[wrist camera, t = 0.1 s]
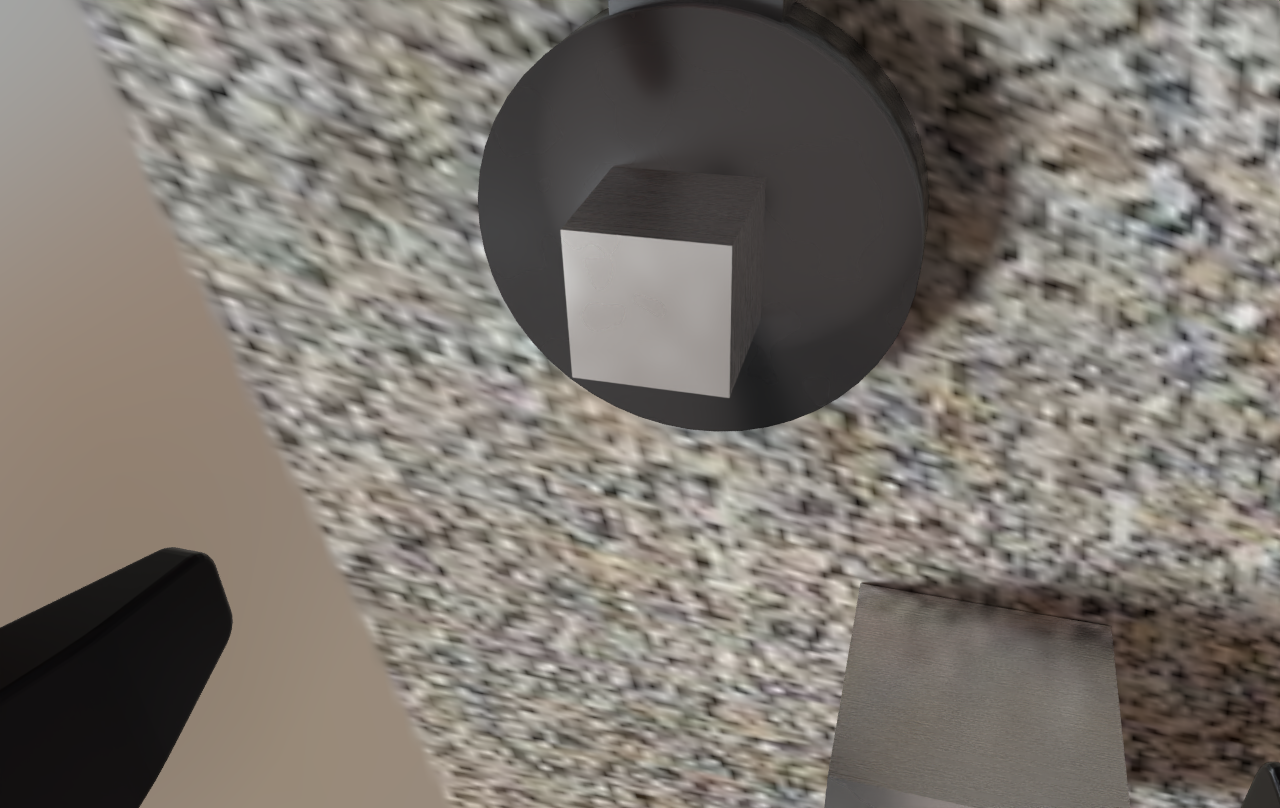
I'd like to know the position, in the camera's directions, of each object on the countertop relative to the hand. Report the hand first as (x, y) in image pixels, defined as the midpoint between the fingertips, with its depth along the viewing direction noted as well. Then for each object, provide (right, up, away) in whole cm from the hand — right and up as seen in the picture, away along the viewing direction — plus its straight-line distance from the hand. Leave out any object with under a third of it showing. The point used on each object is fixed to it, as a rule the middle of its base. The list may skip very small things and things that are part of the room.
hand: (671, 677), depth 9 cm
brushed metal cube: (+8, -5, +19) cm, 21 cm away
